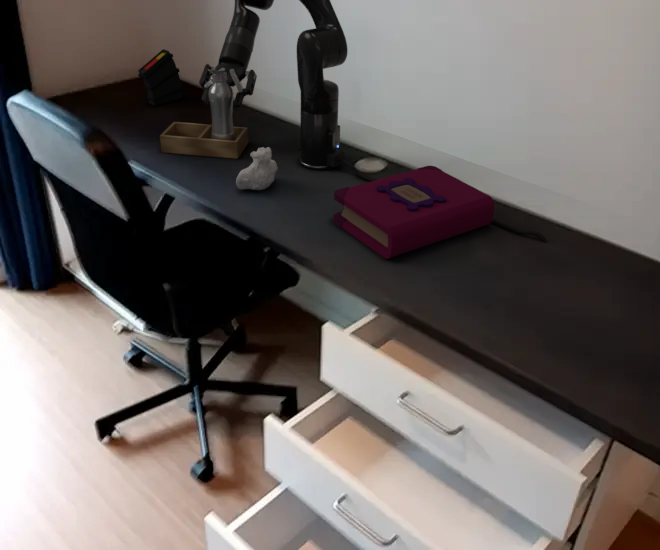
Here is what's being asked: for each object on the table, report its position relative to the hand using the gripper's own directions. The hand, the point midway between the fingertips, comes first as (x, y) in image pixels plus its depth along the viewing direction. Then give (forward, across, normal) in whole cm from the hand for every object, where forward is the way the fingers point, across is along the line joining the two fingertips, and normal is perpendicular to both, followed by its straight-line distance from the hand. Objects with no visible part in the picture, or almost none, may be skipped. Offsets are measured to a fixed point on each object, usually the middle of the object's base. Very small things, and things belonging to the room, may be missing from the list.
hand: (220, 105), depth 182 cm
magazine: (-11, -34, +28) cm, 45 cm away
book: (+25, +56, -8) cm, 62 cm away
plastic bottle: (+8, 0, +9) cm, 12 cm away
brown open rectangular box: (+9, -5, +8) cm, 13 cm away
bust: (+21, +18, -4) cm, 28 cm away
